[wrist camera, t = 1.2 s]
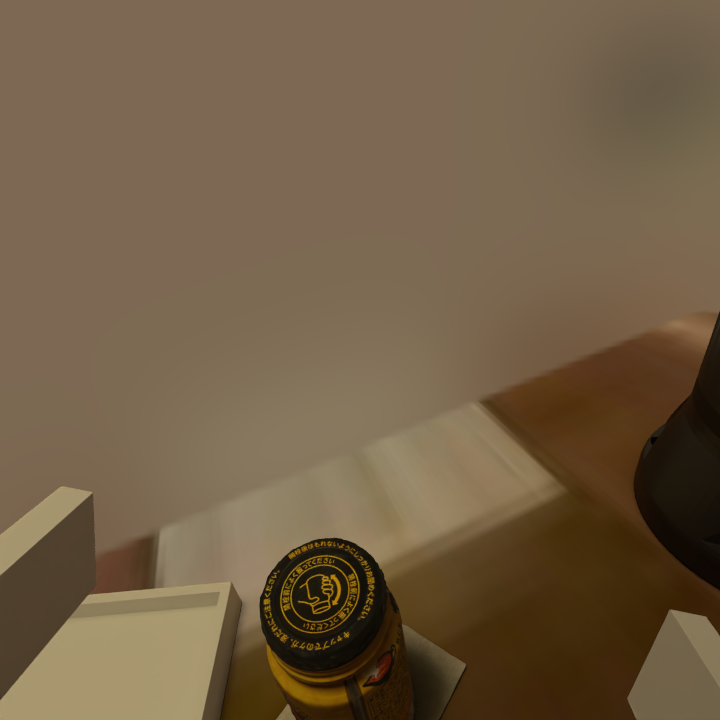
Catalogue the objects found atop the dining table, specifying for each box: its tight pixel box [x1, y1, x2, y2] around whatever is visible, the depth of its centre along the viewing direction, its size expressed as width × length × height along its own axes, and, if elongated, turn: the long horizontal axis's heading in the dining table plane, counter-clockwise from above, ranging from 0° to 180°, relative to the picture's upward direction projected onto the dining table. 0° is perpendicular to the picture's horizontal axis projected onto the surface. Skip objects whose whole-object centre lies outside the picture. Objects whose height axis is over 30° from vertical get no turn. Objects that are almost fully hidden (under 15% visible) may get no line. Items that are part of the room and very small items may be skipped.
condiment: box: [260, 538, 466, 720], centre depth 23 cm, size 7×8×12 cm
